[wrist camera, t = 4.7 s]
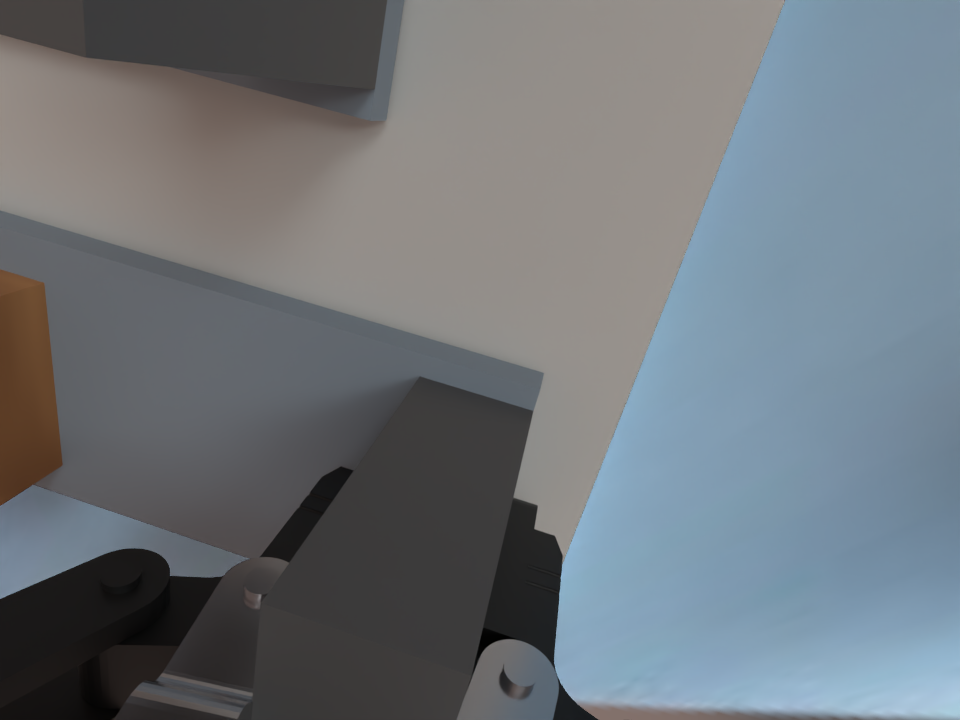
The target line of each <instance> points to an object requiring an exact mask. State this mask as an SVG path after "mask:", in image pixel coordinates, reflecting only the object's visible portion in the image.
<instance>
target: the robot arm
mask: <svg viewBox="0 0 960 720" xmlns="http://www.w3.org/2000/svg"><path fill="white" fill-rule="evenodd" d="M353 471H354V470H351V469H348V468H345V467H342V466H341V467H339V468H337V469H335V470H333V471H332V472H330V473H328V474H326V475H324V476H322V477H321V479H320V480H319V481H318V482H317V484H316V485H315V486H314V488H313V489H312V490H311V491H310V494H309V496H308V495H307V497H306V498H305V499H304V500H303V502H302V503H301V504H300V507H299V508H297V510H296V511H295V512H294V513H293V515H292V516H291V517H290V519H289V520H288V521H287V522H286V524H285V525H284V526H283V528H282V529H281V530H280V531H279V533H278V534H277V535H276V537H275V538H274V539H273V541H272V542H271V543H270V544H269V546H268V547H267V548H266V550H265V551H264V552H263V553H262V555H261V556H260V557H259V558H253V559H249V560H246V561H243V562H241V563H239V564H237V565H235V566H234V567H233V568H231V569H230V570H229V571H228V572H227V573H226V574H225V575H224V576H222V577H214V578H201V577H180V576H170V568H169V565H168V563H167V562H166V560H165V559H164V558H163V557H162V556H160V555H159V554H157V553H155V552H152V551H150V550H145V549H135V548H134V549H122V550H117V551H113V552H110V553H107V554H104V555H102V556H99V557H97V558H95V559H92V560H90V561H88V562H85V563H83V564H81V565H78V566H76V567H74V568H71V569H69V570H67V571H64V572H62V573H60V574H57V575H55V576H53V577H50V578H48V579H46V580H43V581H41V582H39V583H36V584H34V585H32V586H30V587H27V588H25V589H23V590H20V591H18V592H16V593H13V594H11V595H9V596H6V597H4V598H2V599H0V720H251V718H252V708H253V702H252V696H253V685H254V675H255V664H256V653H257V643H258V632H259V621H260V611H261V602H262V601H263V600H264V598H265V597H266V595H267V594H268V592H269V591H270V590H271V588H272V587H273V585H274V584H275V582H276V581H277V580H278V578H279V577H280V575H281V574H282V572H283V571H284V570H285V568H286V567H287V565H288V564H289V562H290V561H291V560H292V558H293V557H294V555H295V554H296V552H297V551H298V550H299V548H300V547H301V545H302V544H303V542H304V541H305V540H306V538H307V537H308V535H309V534H310V532H311V531H312V530H313V528H314V527H315V525H316V524H317V522H318V521H319V520H320V518H321V517H322V515H323V514H324V512H325V511H326V510H327V508H328V507H329V505H330V504H331V502H332V501H333V500H334V498H335V497H336V495H337V494H338V492H339V491H340V490H341V488H342V487H343V485H344V484H345V482H346V481H347V480H348V478H349V477H350V475H351V474H352V472H353ZM537 509H538V505H535V504H532V503H529V502H526V501H523V500H520V499H517V498H514V497H513V501H512V505H511V509H510V514H509V518H508V522H507V527H506V531H505V535H504V539H503V544H502V548H501V552H500V557H499V561H498V565H497V569H496V574H495V578H494V582H493V586H492V591H491V595H490V599H489V604H488V608H487V612H486V616H485V621H484V625H483V629H482V634H481V638H480V642H479V646H478V651H477V655H476V659H475V664H474V668H473V672H472V676H471V679H470V682H469V685H468V688H467V691H466V694H465V697H464V700H463V703H462V705H461V708H460V711H459V714H458V717H457V720H598V719H596V718H595V717H594V716H592V715H591V714H589V713H588V712H587V711H585V710H584V709H583V708H581V707H580V706H579V705H578V704H577V703H576V702H575V701H574V700H573V699H572V698H571V697H570V696H569V695H568V694H567V692H566V691H565V690H564V688H563V686H562V685H561V683H560V681H559V679H558V676H557V673H556V670H555V665H554V650H555V639H556V627H557V616H558V605H559V592H560V582H561V579H560V577H561V571H562V560H563V555H562V552H561V550H560V547H559V545H558V542H557V540H556V537H555V536H554V535H551V534H548V533H545V532H542V531H539V530H536V529H534V528H535V521H536V515H537Z"/></svg>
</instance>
